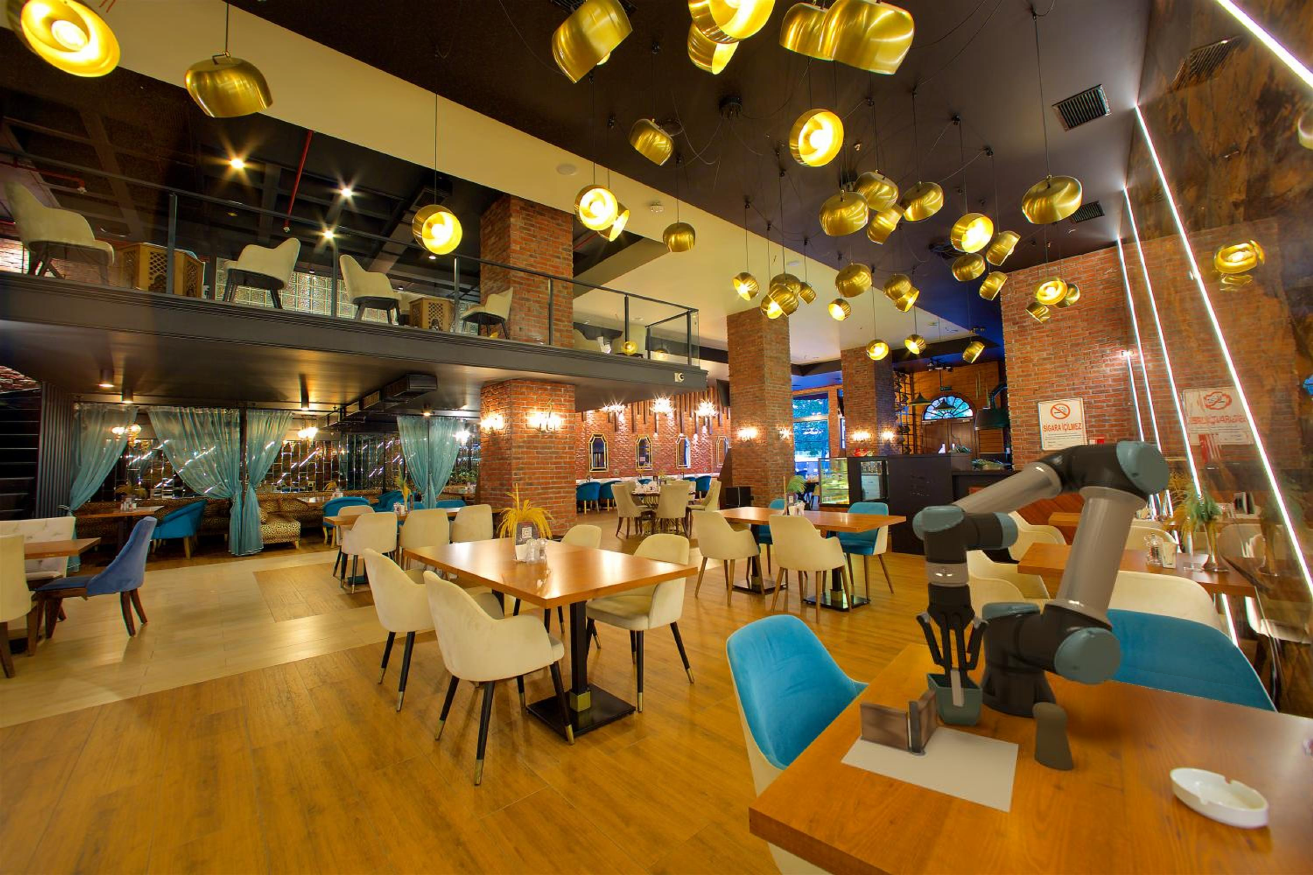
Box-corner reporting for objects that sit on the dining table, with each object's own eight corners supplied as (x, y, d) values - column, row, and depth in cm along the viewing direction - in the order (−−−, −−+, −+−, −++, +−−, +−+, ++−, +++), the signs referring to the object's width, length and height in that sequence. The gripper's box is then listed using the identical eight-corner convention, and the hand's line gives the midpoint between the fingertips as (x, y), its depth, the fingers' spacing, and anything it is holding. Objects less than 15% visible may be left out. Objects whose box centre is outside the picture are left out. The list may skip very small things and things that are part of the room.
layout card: (1019, 749, 102) (1018, 744, 102) (1009, 819, 81) (1009, 811, 81) (878, 716, 118) (878, 711, 118) (840, 767, 97) (840, 761, 97)
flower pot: (987, 734, 108) (983, 689, 109) (940, 731, 110) (937, 686, 111) (970, 716, 117) (967, 674, 118) (928, 713, 119) (925, 672, 120)
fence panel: (922, 747, 101) (920, 711, 101) (912, 745, 102) (910, 708, 102) (938, 724, 110) (936, 690, 111) (929, 722, 111) (927, 688, 112)
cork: (1067, 761, 97) (1062, 700, 98) (1081, 779, 92) (1075, 713, 93) (1029, 757, 99) (1024, 696, 100) (1040, 773, 94) (1035, 709, 95)
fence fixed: (921, 750, 100) (918, 701, 101) (919, 754, 99) (916, 704, 100) (864, 735, 107) (862, 689, 108) (861, 739, 105) (859, 692, 106)
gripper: (909, 583, 108) (919, 702, 106) (983, 588, 100) (995, 717, 98) (916, 577, 114) (926, 690, 112) (987, 581, 106) (999, 703, 104)
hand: (958, 702), depth 105 cm, fingers closed
